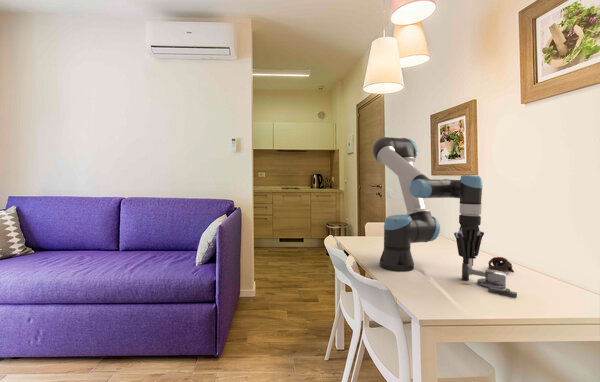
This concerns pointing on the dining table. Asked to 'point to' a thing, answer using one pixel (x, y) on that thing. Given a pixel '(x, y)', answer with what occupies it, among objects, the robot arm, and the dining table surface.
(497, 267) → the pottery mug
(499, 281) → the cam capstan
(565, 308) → the dining table surface
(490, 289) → the stand board
